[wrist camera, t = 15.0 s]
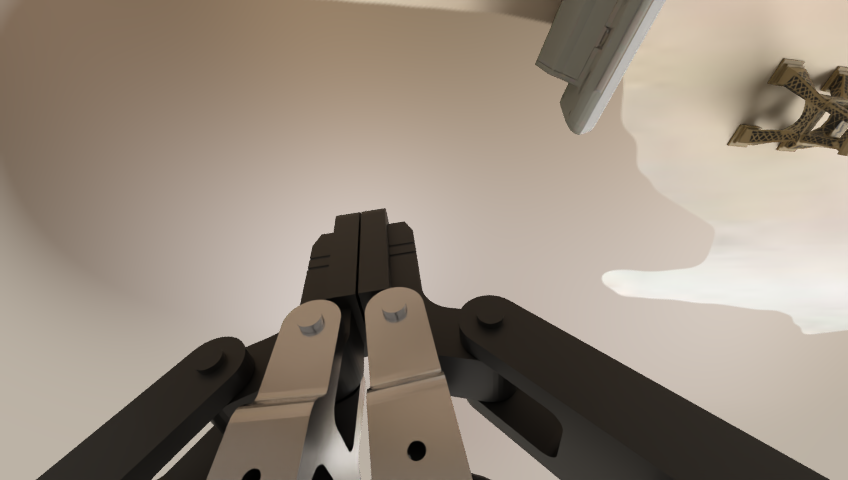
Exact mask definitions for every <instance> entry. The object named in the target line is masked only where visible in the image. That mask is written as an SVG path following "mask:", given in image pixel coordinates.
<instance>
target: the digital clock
mask: <svg viewBox="0 0 848 480" xmlns="http://www.w3.org/2000/svg"><path fill="white" fill-rule="evenodd" d="M665 1H666V0H562V2H561V5H560V7H559V9H558V12H557V14H556V17H555V19H554V21H553V24H552V26H551V29H550V31H549V33H548V35H547V38H546V40H545V42H544V45H543V47H542V49H541V52H540V54H539V56H538V59H537V61H536V63H535V65H537V66H538V67H539V68H541V69H542V70H544V71H545V72H547V73H548V74H550V75H552V76H554V77H557V78H560V79H562V80H564V81H566V82H568V83H569V84H568V86H567V88H566V90H565V92H564V94H563V96H562V98H561V101H560V105H561V108H562V112H563V114H564V118H565V121H566V123H567V125H568V127H569V129H570V130H571V131H572V132H573V133H575V134H578V135H580V134H583V133H586V132H589V131H591V130H592V129H593V127H594V126H595V125H596V123H597V121H598V119H599V118H600V116H601V114H602V112H603V111H604V109H605V107H606V105H607V103H608V102H609V100H610V98H611V96H612V95H613V93H614V91H615V89H616V88H617V86H618V84H619V82H620V81H621V79H622V77H623V75H624V74H625V72H626V70H627V68H628V66H629V65H630V63H631V61H632V59H633V58H634V56H635V54H636V52H637V50H638V49H639V47H640V45H641V43H642V42H643V40H644V38H645V36H646V35H647V33H648V31H649V29H650V27H651V26H652V24H653V22H654V20H655V19H656V17H657V15H658V13H659V12H660V10H661V8H662V6H663V4H664V3H665Z"/></svg>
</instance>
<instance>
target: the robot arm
mask: <svg viewBox="0 0 848 480" xmlns="http://www.w3.org/2000/svg"><path fill="white" fill-rule="evenodd" d="M367 356H368V360H369V371H370V372H369V373H370V388H369V389H367V396H366V398H367V415H368V431H369V446H370V460H371V476H372V480H490V479H488V478H486V477H483V476H480V475H476V474H473V473H471V471H470V468H469V464H468V460H467V456H466V453H465V449H464V445H463V442H462V438H461V434H460V430H459V426H458V423H457V419H456V415H455V412H454V408H453V404H452V400H451V396H454V397H460V398H466V399H467V400H468V402H469V403H470V405H471V406H472V407H473V408H475V409H476V410H477V411H478V412H479V413H481V414H482V415H483V416H484V417H485V418H487V419H488V420H489V421H490V422H492V423H493V424H494V425H495V426H496V427H497V428H499V429H500V430H501V431H502V432H503V433H505V434H506V435H507V436H508V437H509V438H511V439H512V440H513V441H514V442H515V443H517V444H518V445H519V446H520V447H521V448H523V449H524V450H525V451H526V452H528V453H529V454H530V455H531V456H532V457H534V458H535V459H536V460H537V461H538V462H540V463H541V464H542V465H543V466H544V467H546V468H547V469H548V470H549V471H550V472H552V473H553V474H554V475H555V476H556V477H558V478H559V479H560V480H829V479H828V478H826V477H824V476H822V475H820V474H819V473H817V472H815V471H813V470H812V469H810V468H808V467H806V466H804V465H802V464H801V463H799V462H797V461H795V460H793V459H792V458H790V457H788V456H787V455H785V454H783V453H781V452H779V451H778V450H775V449H774V448H772V447H770V446H769V445H767V444H765V443H763V442H761V441H760V440H758V439H756V438H754V437H752V436H751V435H749V434H747V433H745V432H744V431H742V430H740V429H738V428H736V427H735V426H733V425H731V424H729V423H727V422H726V421H724V420H722V419H720V418H719V417H717V416H715V415H713V414H711V413H709V412H708V411H706V410H704V409H702V408H701V407H699V406H697V405H695V404H693V403H692V402H690V401H688V400H686V399H684V398H683V397H681V396H679V395H677V394H675V393H674V392H672V391H670V390H668V389H667V388H665V387H663V386H661V385H660V384H658V383H656V382H654V381H652V380H650V379H649V378H647V377H645V376H643V375H642V374H640V373H638V372H636V371H634V370H633V369H631V368H629V367H627V366H625V365H624V364H622V363H620V362H618V361H617V360H615V359H613V358H611V357H609V356H608V355H606V354H604V353H602V352H600V351H598V350H597V349H595V348H593V347H592V346H590V345H588V344H586V343H584V342H583V341H581V340H579V339H577V338H576V337H574V336H572V335H570V334H568V333H566V332H565V331H563V330H561V329H559V328H558V327H556V326H554V325H552V324H550V323H549V322H547V321H545V320H543V319H542V318H540V317H538V316H536V315H534V314H533V313H531V312H529V311H527V310H525V309H523V308H522V307H520V306H518V305H516V304H515V303H513V302H511V301H509V300H507V299H505V298H502V297H499V296H492V295H487V296H480V297H476V298H474V299H472V300H470V301H468V302H467V303H466V304H465V305H464V306H463V307H462V309H456V308H447V307H442V306H439V305H437V304H434V303H433V302H431V301H430V300H429V299H428V298H427V297H426V296H425V295H424V293H423V291H422V286H421V280H420V274H419V267H418V261H417V255H416V248H415V243H414V235H413V230H412V229H411V228H410V227H409V226H408V225H407V224H406V223H405V222H398V223H392V224H389V222H388V217H387V212H386V209H385V208H384V209H377V210H371V211H365V212H362V213H360V212H359V213H353V214H346V215H339V216H336V219H335V226H334V233H329V234H322V235H321V236H320V238H319V239H318V240H317V241H316V242H315V244H314V245H313V247H312V252H311V256H310V261H309V266H308V271H307V276H306V280H305V284H304V289H303V294H302V298H301V303H300V306H298V307H297V308H295V309H294V310H292V311H291V312H290V313H289V314H288V315H287V316H286V318H285V319H284V321H283V323H282V325H281V329H280V331H279V333H277V334H275V335H273V336H271V337H269V338H267V339H264V340H262V341H260V342H257V343H255V344H252V345H250V346H248V347H245V346H244V344H243V343H242V341H240V340H239V339H237V338H234V337H220V338H216V339H213V340H211V341H209V342H207V343H204V344H203V345H201V346H200V347H198V348H197V349H195V350H194V351H193V352H192V353H190V354H189V355H188V356H187V357H185V358H184V359H183V360H182V361H181V362H179V363H178V364H177V365H176V366H174V367H173V368H172V369H171V370H170V371H168V372H167V373H166V374H165V375H164V376H162V377H161V378H160V379H159V380H157V381H156V382H155V383H154V384H152V385H151V386H150V387H149V388H148V389H146V390H145V391H144V392H143V393H141V394H140V395H139V396H138V397H137V398H135V399H134V400H133V401H132V402H130V403H129V404H128V405H127V406H126V407H124V408H123V409H122V410H121V411H119V412H118V413H117V414H116V415H115V416H113V417H112V418H111V419H110V420H109V421H107V422H106V423H105V424H104V425H102V426H101V427H100V428H99V429H97V430H96V431H95V432H94V433H93V434H91V435H90V436H89V437H88V438H87V439H85V440H84V441H83V442H82V443H80V444H79V445H78V446H77V447H76V448H74V449H73V450H72V451H71V452H69V453H68V454H67V455H66V456H65V457H63V458H62V459H61V460H60V461H58V462H57V463H56V464H55V465H53V466H52V467H51V468H50V469H49V470H47V471H46V472H45V473H44V474H43V475H41V476H40V477H39V478H38V479H36V480H152V478H153V477H154V476H155V475H156V474H157V473H158V472H159V471H160V470H161V469H162V468H163V467H164V466H165V465H166V464H167V463H168V462H169V461H170V460H171V459H172V458H173V457H174V456H175V455H176V454H177V453H178V452H179V451H180V450H181V449H182V448H183V447H184V446H185V445H186V444H187V443H188V442H189V441H190V440H191V439H192V438H193V437H194V436H195V435H196V434H197V433H199V432H200V430H202V429H203V428H204V427H205V426H206V425H207V424H208V423H209V422H210V421H211V422H212V424H213V425H214V426H213V427H212V428H211V429H210V430H209V431H208V432H207V433H206V434H205V435H204V436H203V437H202V438H201V439H200V440H199V441H198V442H197V443H196V444H195V445H194V446H193V447H192V448H191V449H190V450H189V451H188V452H187V453H186V454H185V455H184V456H183V457H182V458H181V459H180V460H179V461H178V462H177V463H176V464H175V465H174V466H173V467H172V468H171V469H170V470H169V471H168V472H167V473H166V474H165V475H164V476H162V477H161V478H159V479H157V480H361V477H360V470H359V447H360V436H361V426H362V416H363V405H364V394H365V378H364V375H363V373H364V357H367Z"/></svg>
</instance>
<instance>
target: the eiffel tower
mask: <svg viewBox="0 0 848 480" xmlns="http://www.w3.org/2000/svg"><path fill="white" fill-rule="evenodd" d="M804 63H805V62H804V61H797V60H790V59H783V60H782V62H781V63H780V65H779V66H778V68H777V69H776V71H775V72H774V74H773V75H772V77H771V79H770V80H769V82H768V84H773V85H778V86H784V87H786V88H787V89H789V90H790V91H792V92H794V93H795V94H797V95H798V96H800V97H801V98H803V99H804V100H806V101H805V107H804V110H803V113H802V115H801V117H800V118H799V119H798V120H797V122H795V123H794V124H793V125H791V126H789V127H787V128H786V129H784V130H761V129H762V128H760V127H758V126H748V125H740V126H739V128H738V129H737V131H736V132H735V134H734V135H733V137H732V138H731V140H730V141H729V143H728V144H727V145H728V146H738V147H747V145H758V144H764V143H771V142H782V143H781V144H780V146H779V147H778V148H777V150H779V151H790V152H795V151H796V150H797V149H804V148H810V147H824V148H832V149H837V150H838V151H839V152H838V154H839V155H844V156H848V129H847V128H848V68H846V67H839V66H838V67H837V69H836V70H835V71H834V73H833V74H832V75H831V77H830V78H829V79H828V81H827V82H826V83H825V85H824V86H823V88H822V89H821V91H825V92H830V94H831V96H829V95H823V94H819V93H818V92H817V91H816V89H815V87H814V85H813V83H812V81H811V79H810V77H809V74H808V72H807V70H806V69H803V68H804V67H805V66H803V64H804ZM825 112H828V113H829V114H831V115H830V116H829V118H828V120H827V121H826V122H825V123H824V124H823V125H822V126H821V127H820V128H817V129H815V130H813V131H811V130H812V129H813V128H814V126H815V125H816V123H817V122H818V121H819V120H820V119H821V117H822V116H823V115H824V113H825ZM846 129H847V130H846ZM845 130H846V131H845ZM810 131H811V132H810ZM843 133H844V134H843ZM842 134H843V135H842ZM841 135H842V136H841ZM840 136H841V137H840ZM839 137H840V138H839Z"/></svg>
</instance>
